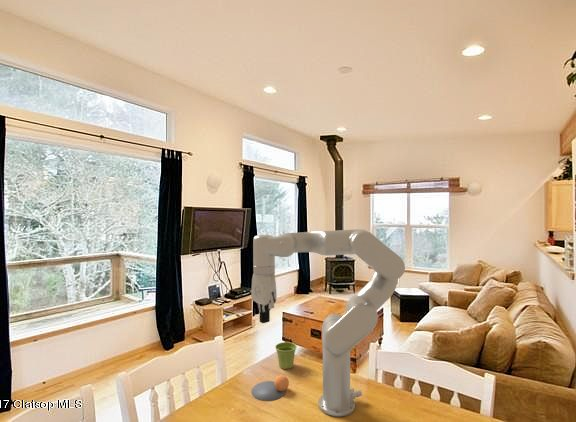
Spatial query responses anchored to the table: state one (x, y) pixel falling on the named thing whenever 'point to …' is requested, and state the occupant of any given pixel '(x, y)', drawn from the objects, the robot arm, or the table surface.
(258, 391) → the disc
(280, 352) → the plant pot
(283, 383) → the ball
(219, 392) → the table surface
